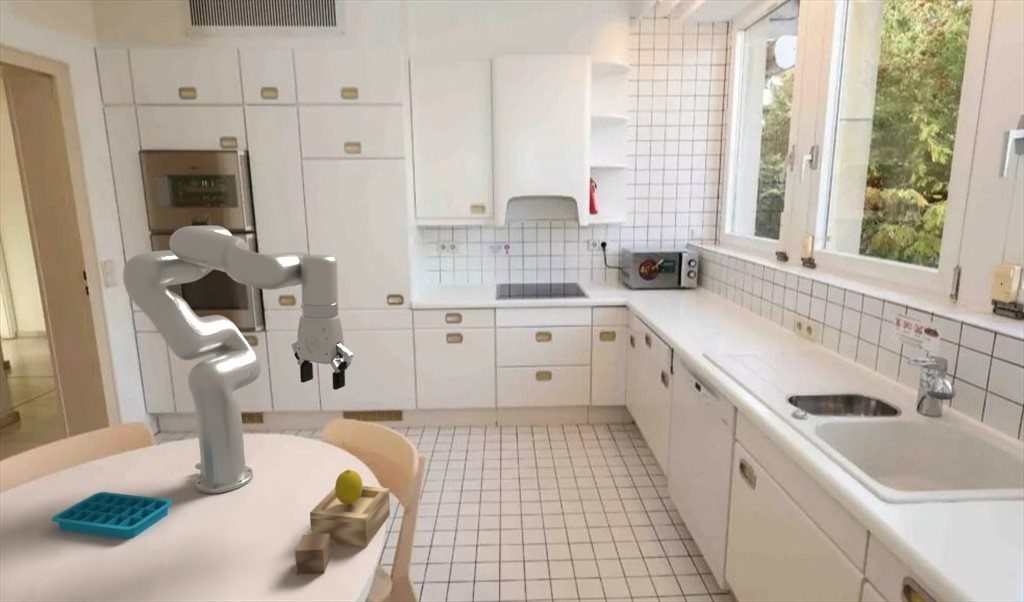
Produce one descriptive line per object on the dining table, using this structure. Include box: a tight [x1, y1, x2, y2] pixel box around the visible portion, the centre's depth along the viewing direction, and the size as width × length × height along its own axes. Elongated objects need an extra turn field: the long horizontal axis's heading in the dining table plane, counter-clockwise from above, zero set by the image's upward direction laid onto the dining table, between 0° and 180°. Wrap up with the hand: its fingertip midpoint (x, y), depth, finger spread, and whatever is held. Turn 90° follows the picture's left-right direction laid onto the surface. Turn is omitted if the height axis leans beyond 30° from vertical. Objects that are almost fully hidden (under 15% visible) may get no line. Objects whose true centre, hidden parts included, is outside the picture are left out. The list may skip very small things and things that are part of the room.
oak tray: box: [309, 485, 391, 548], centre depth 115 cm, size 12×12×6 cm
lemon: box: [334, 469, 364, 505], centre depth 114 cm, size 6×6×8 cm
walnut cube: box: [294, 533, 332, 576], centre depth 102 cm, size 5×5×5 cm
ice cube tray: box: [51, 491, 173, 540], centre depth 117 cm, size 12×20×3 cm, turn 79°
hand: (322, 384), depth 123 cm, fingers open, 9 cm apart
